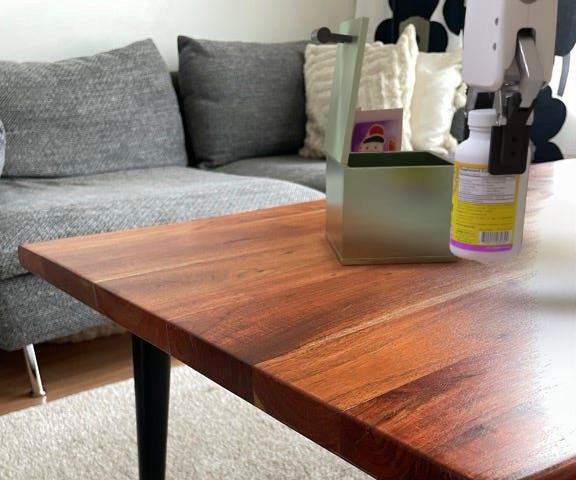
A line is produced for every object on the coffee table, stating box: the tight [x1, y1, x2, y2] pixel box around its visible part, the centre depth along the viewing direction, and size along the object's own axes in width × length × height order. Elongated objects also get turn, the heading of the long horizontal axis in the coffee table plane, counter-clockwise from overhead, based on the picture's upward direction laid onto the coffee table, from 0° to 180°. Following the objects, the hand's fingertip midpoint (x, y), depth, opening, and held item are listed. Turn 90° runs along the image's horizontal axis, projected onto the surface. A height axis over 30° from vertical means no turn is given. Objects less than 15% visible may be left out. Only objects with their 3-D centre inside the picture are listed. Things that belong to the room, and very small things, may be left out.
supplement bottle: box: [450, 109, 532, 262], centre depth 66 cm, size 7×7×13 cm
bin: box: [324, 149, 459, 266], centre depth 88 cm, size 14×15×11 cm
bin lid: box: [310, 16, 370, 165], centre depth 82 cm, size 14×15×5 cm
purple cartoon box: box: [349, 106, 404, 152], centre depth 106 cm, size 11×7×15 cm, turn 129°
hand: (491, 165), depth 65 cm, fingers closed on supplement bottle, 6 cm apart
